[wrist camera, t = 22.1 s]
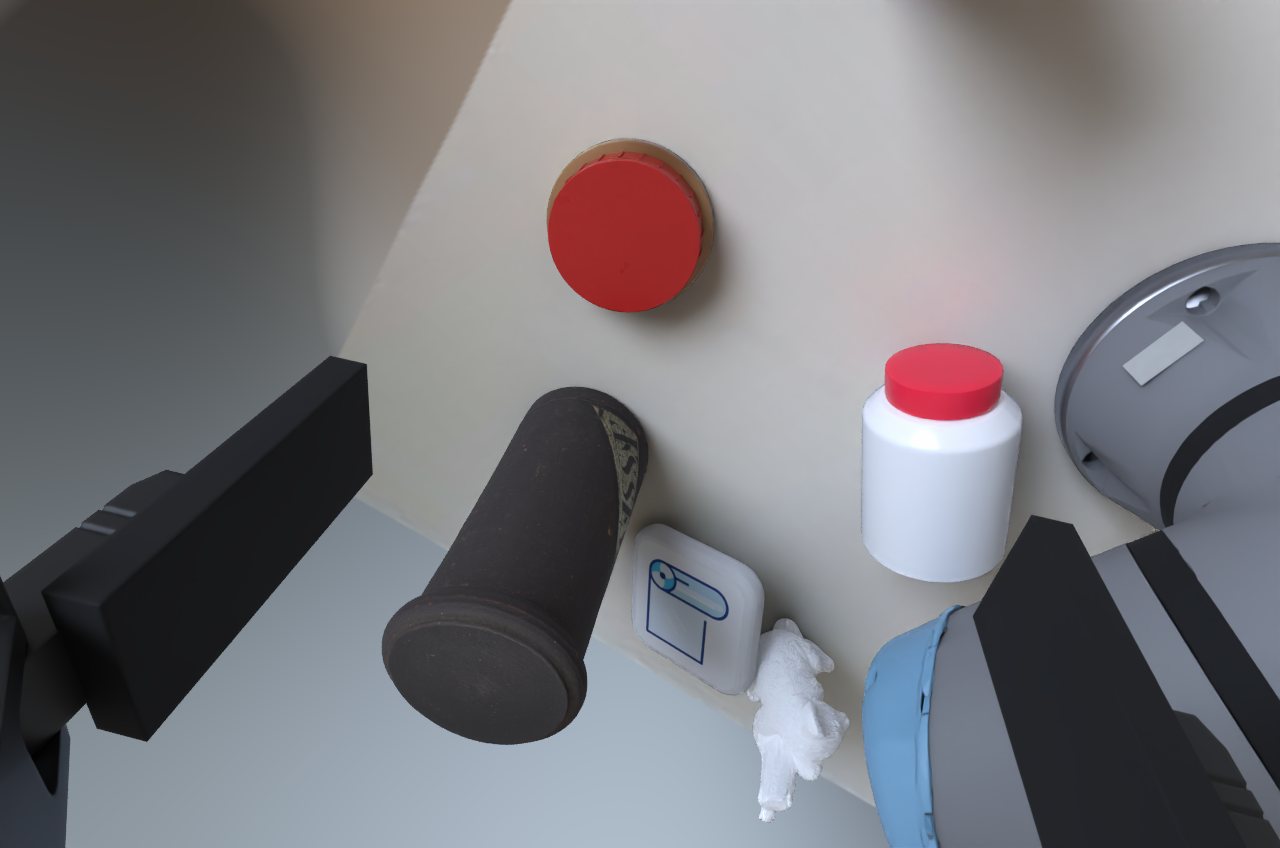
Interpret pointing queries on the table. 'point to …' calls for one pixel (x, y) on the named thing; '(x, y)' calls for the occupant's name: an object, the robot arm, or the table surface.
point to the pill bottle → (939, 463)
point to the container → (524, 577)
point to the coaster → (661, 155)
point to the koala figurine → (791, 715)
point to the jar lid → (626, 232)
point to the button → (697, 607)
